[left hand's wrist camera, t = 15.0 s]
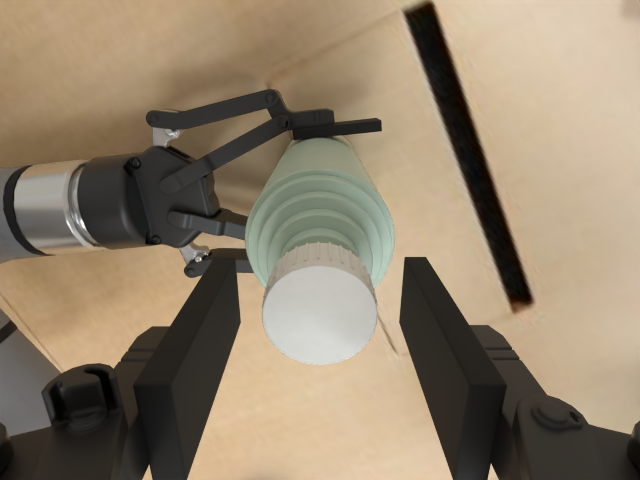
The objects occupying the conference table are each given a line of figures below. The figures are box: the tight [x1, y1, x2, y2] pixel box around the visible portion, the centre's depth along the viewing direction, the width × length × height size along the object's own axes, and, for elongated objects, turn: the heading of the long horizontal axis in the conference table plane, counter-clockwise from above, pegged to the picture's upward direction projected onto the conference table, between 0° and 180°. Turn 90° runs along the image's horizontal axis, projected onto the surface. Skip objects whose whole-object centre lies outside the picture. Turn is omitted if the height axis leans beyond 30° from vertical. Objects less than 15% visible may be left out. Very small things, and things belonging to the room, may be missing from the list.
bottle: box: [245, 135, 395, 289], centre depth 25 cm, size 7×7×26 cm
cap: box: [262, 242, 377, 365], centre depth 14 cm, size 4×4×2 cm
